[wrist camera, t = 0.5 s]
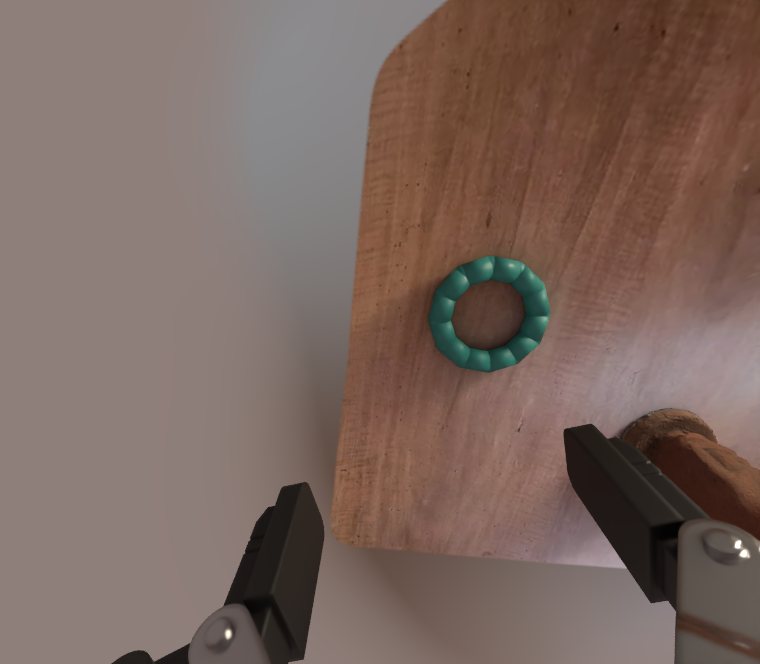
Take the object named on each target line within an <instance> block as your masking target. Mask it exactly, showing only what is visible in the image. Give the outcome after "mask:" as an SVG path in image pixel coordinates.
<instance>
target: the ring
mask: <svg viewBox="0 0 760 664" xmlns="http://www.w3.org/2000/svg"><path fill="white" fill-rule="evenodd" d="M487 280H495V281H501V282H506V283H509V284H511V285H512V286H513V287H514V288H515V289H516V290H517V291H518V292H519V293H520V294H521V295H522V297H523V302H524V306H525V311H526V315H525V318H524V321H523V324H522V327H521V330H520V332H519V333H518V334H517V335H516V336H515V337H513V338H512V339H511V340H510V341H509V342H508V343H507V344H506V345H504V346H501V347H498V348H495V349H492V350H488V351H484V350H478V349H473V348H468V347H467V346H466V345H465V344H464V343H463V342H462V341H460V340H459V339H458V338H457V337H456V335H455V332H454V329H453V325H452V322H451V318H452V314H453V310H454V306H455V303H456V301H457V299H458V298H459V297H460V296H461V295H462V294H463V293H464V292H465V291H466V290H467V289H468V288H469V287H470V286H472V285H475V284H478V283H481V282H484V281H487ZM549 317H550V308H549V303H548V298H547V293H546V288H545V285H544V283H543V282H542V281H541V280H540V279H539V278H538V277H537V276H536V275H535V274H534V273H533V272H532V271H531V270H530V269H529V268H528V267H527V266H526V265H525V264H524V263H522V262H520V261H515V260H510V259H505V258H500V257H495V256H486V257H484V258H481V259H478V260H475V261H472V262H469V263H466V264H463V265H460V266H458V267H457V268H456V269H455V270H454V271H453V272H452V273H451V274H450V275H449V276H448V277H447V278H446V279H445V280H444V282H443V283H442V284H441V285H440V286H439V287H438V288H437V289H436V291H435V294H434V298H433V302H432V306H431V310H430V314H429V318H428V322H429V326H430V329H431V332H432V335H433V338H434V341H435V344H436V347H437V349H438V350H439V351H440V352H441V353H443V354H444V355H445V356H446V357H447V358H449V359H450V360H451V361H452V362H453V363H454V364H456V365H457V366H458V367H460V368H465V369H470V370H476V371H481V372H493V371H496V370H499V369H503V368H506V367H509V366H512V365H516V364H518V363H519V362H520V361H521V360H522V359H524V358H525V357H526V356H527V355H528V354H529V353H530V352H531V351H532V350H533V349H534V348H535V347H536V346H538V345H539V343H540V342H541V340H542V337H543V334H544V331H545V329H546V326H547V323H548V320H549Z"/></svg>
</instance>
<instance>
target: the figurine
mask: <svg viewBox="0 0 760 664" xmlns="http://www.w3.org/2000/svg"><path fill="white" fill-rule="evenodd" d="M622 440H623V441H625V442H627V443H629V444H631V445H633V446H635V447H637V448H638V449H639V450H640V451H641V452H642V453H643V454H644V455H645V456H646V457H647V458H648V459H649V460H650V462H651V463H653V464H654V465H655V466H657V467H658V468H659V469H660V470H661V472H662V474H665V475H666V476H667V477H668V478H669V479H670V480H671V481H672V482H673V483H674V484H675V485H677V486H678V487H679V488H680V489H681V490H682V491H683V492H684V493H685V494H686V495H687V496H688V497H689V498H690V499H691V500H692V501H693V502H694V503H696V504H697V505H698V506H699V507H700V508H701V509H702V510H703V511H704V512H705V513H706V514H707V515H708V516H709V517H710V518H711V519H714V520H719V521H723V522H726V523H729V524H732V525H734V526H737V527H739V528H741V529H743V530H744V531H746V532H748V533H749V534H751V535H752V536H753V537H755V538H756V539H757V540H758V541H759V542H760V470H759V469H757V468H754V467H751V466H750V465H749V463H748V461H747V460H745V459H743V458H741V457H739V456H737V455H736V453H735V452H734V451H733V450H731V449H729V448H727V447H724V446H722V445H720V444H717V443H718V442H717V440H716V436H715V435H713V431H712V430H711V429H710V428H709V426H708V425H707V424H706V423H704V421H703V420H701V419H700V418H699V417H698V416H696V414H694V413H692V412H689V411H685V410H679V409H678V410H677V409H672V408H671V409H663V410H662V409H661V410H659V411H655V412H654V413H653V412H651V413H649V414H648V415H646V416H644V417H642V418H640V419H639V420H637V421H636V422H635V423H634V424H633V425H632V426H631V427H630V428H629V429H628V430H627V431H625V432H624V434H623V437H622Z"/></svg>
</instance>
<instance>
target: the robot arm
mask: <svg viewBox="0 0 760 664" xmlns="http://www.w3.org/2000/svg"><path fill="white" fill-rule="evenodd" d="M564 444H565V453H566V463H567V471H568V475H569V479H570V481H571V484H572V486H573V488H574V490H575V492H576V493H577V495H578V496H579V498H580V499H581V501H582V502H583V504H584V505H585V507H586V508H587V510H588V511H589V513H590V514H591V516H592V517H593V518H594V520H595V521H596V523H597V524H598V526H599V527H600V529H601V530H602V532H603V533H604V535H605V536H606V538H607V539H608V541H609V542H610V544H611V545H612V546H613V548H614V549H615V551H616V552H617V554H618V555H619V557H620V558H621V560H622V561H623V563H624V564H625V566H626V567H627V569H628V570H629V572H630V573H631V574H632V576H633V577H634V579H635V580H636V582H637V583H638V585H639V586H640V588H641V589H642V591H643V592H644V594H645V595H646V597H647V598H648V600H649V601H650V603H655V602H662V601H669V603H670V604H671V605H672V607H673V608H674V609H675V611H676V626H675V627H676V628H675V662H674V664H760V542H759V541H758V540H757V539H756V538H755V537H753V536H752V535H751V534H749V533H748V532H746V531H744V530H743V529H741V528H739V527H737V526H734V525H732V524H729V523H726V522H723V521H719V520H714V519H711V518H710V517H709V516H708V515H707V514H706V513H705V512H704V511H703V510H702V509H701V508H700V507H699V506H698V505H697V504H696V503H694V502H693V501H692V500H691V499H690V498H689V497H688V496H687V495H686V494H685V493H684V492H683V491H682V490H681V489H680V488H679V487H678V486H677V485H675V484H674V483H673V482H672V481H671V480H670V479H669V478H668V477H667V476H666V475H665V474H662V472H661V470H660V469H659V468H658V467H657V466H655V465H654V464H653V463H651V462H650V460H649V459H648V458H647V457H646V456H645V455H644V454H643V453H642V452H641V451H640V450H639V449H638V448H637V447H635V446H633V445H631V444H629V443H627V442H625V441H623V440H621V439H619V438H617V437H615V438H610V439H607V438H606V437H605V436H604V435H603V434H602V433H601V432H600V431H599V430H598V429H597V428H596V427H595V426H594V425H592V424H586V425H581V426H577V427H572V428H567V429H564ZM250 538H251V539H250V541H249V542H248V545H247V547H246V550H245V554H244V555H243V557H242V560H241V563H240V565H239V568H238V570H237V573H236V576H235V578H234V580H233V583H232V585H231V588H230V591H229V593H228V596H227V598H226V601H225V603H224V606H223V607H222V608H220V609H218V610H217V611H215V612H214V613H212V614H211V615H210V616H209V617H208V618H207V619H206V620H205V621H204V622H203V623H202V624H201V626H200V627H199V628H198V630H197V631H196V633H195V635H194V637H193V638H192V641H191V643H189V644H188V645H186V646H184V647H182V648H180V649H178V650H176V651H174V652H173V653H171V654H168V655H166V656H165V657H163V658H161V659H159V660H157V661H155V662H154V661H153V660H152V658H151V657H150V655H149V654H148V653H147V652H145V651H140V650H138V651H133V652H130V653H128V654H126V655H124V656H122V657H120V658H119V659H117V660H116V661H114V662H113V663H112V664H288V662H292V661H298V660H303V659H304V655H305V649H306V643H307V637H308V631H309V625H310V619H311V614H312V607H313V602H314V596H315V590H316V584H317V578H318V572H319V565H320V560H321V554H322V548H323V542H324V525H323V520H322V517H321V514H320V512H319V509H318V507H317V504H316V502H315V499H314V496H313V494H312V491H311V489H310V486H309V485H308V483H307V482H303V483H298V484H294V485H289V486H284V487H282V488H281V490H280V493H279V496H278V499H277V502H276V505H275V506H272V507H268V508H267V509H266V510H265V512H264V513H263V515H261V517H260V518H259V519H258V521H257V522H256V524H255V527H254V529H253V532H252V535H251V537H250Z"/></svg>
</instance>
